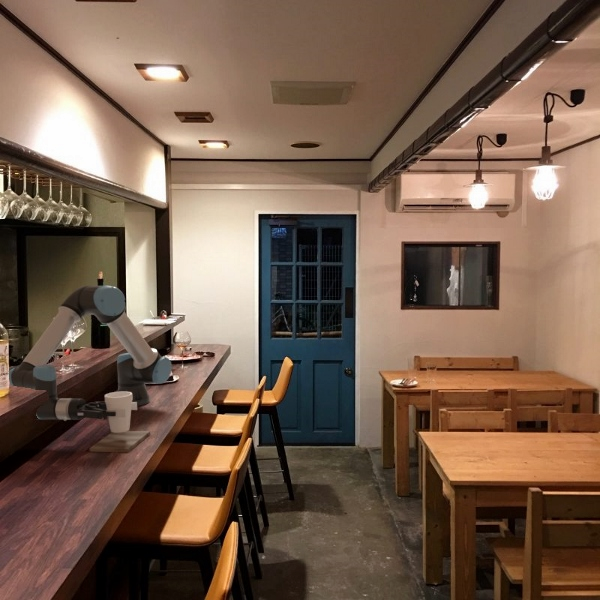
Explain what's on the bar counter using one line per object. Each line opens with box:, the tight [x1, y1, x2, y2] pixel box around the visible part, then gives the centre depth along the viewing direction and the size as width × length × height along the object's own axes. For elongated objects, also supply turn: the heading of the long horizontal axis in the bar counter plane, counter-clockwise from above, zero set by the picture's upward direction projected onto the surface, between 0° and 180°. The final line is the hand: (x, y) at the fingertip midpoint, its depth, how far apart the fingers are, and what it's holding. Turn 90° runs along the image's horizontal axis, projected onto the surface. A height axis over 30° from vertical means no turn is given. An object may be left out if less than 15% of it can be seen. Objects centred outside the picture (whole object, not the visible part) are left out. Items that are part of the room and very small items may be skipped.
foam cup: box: [104, 391, 133, 433], centre depth 218 cm, size 10×9×13 cm
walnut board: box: [89, 430, 151, 453], centre depth 219 cm, size 20×14×1 cm
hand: (131, 409), depth 218 cm, fingers closed on foam cup, 9 cm apart
